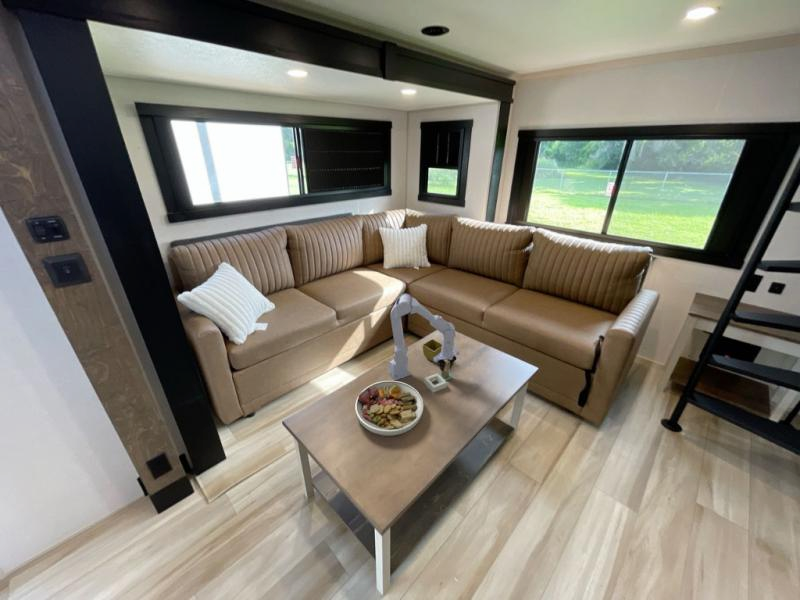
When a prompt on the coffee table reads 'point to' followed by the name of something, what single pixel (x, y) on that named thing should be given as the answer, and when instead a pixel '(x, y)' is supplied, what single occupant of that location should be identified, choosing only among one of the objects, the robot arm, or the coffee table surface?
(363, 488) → the coffee table surface
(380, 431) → the bowl
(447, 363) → the dowel
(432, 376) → the socket block
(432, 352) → the flower pot
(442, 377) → the pad
